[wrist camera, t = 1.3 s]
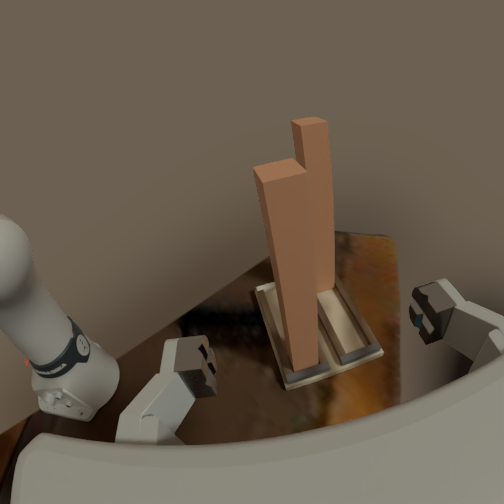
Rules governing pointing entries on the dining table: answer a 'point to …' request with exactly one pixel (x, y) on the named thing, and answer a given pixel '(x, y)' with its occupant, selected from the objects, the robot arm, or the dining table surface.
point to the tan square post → (318, 192)
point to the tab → (291, 254)
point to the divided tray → (322, 335)
